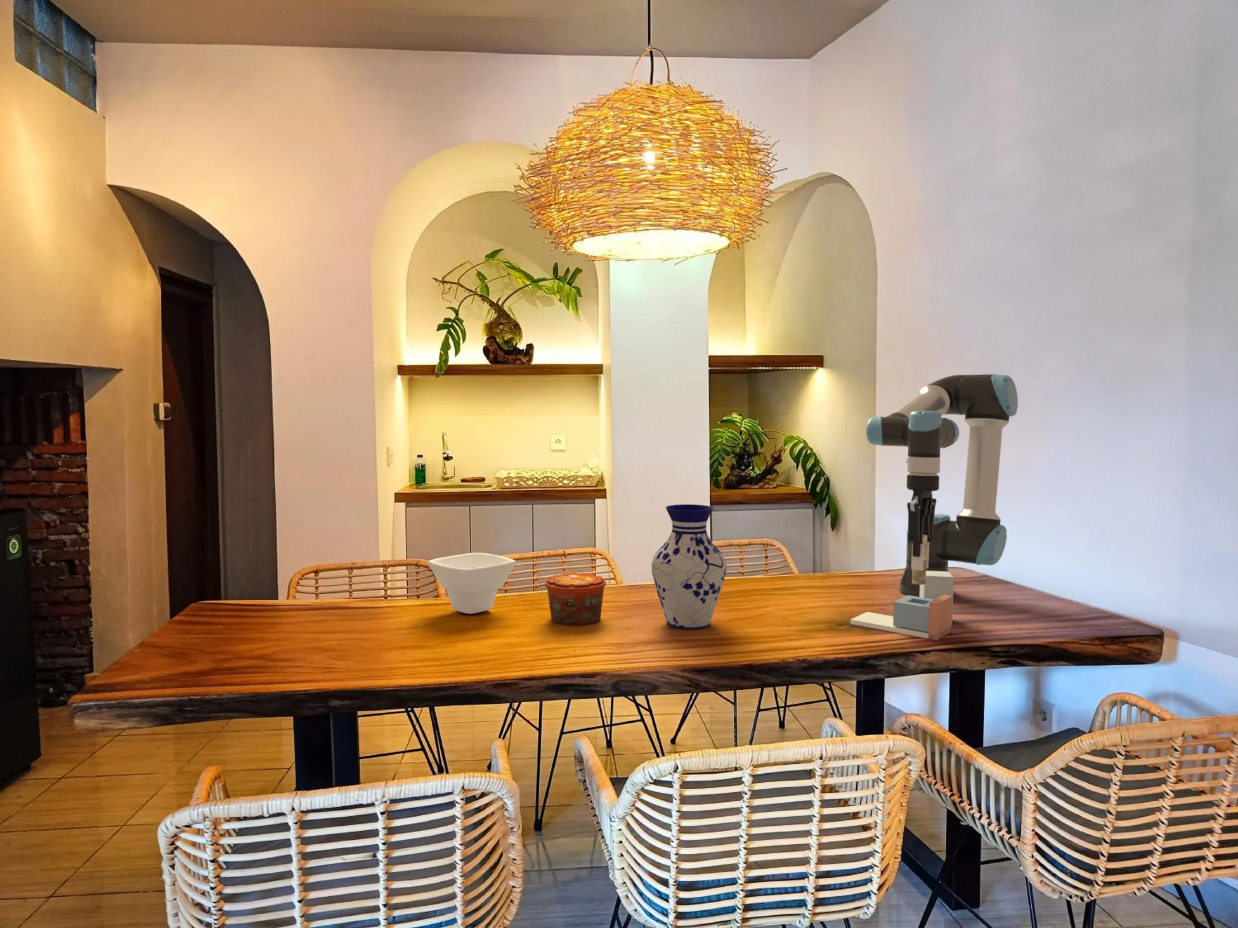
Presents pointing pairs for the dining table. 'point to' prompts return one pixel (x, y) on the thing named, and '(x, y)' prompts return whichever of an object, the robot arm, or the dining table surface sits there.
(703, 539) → the vase
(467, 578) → the bowl
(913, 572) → the dowel
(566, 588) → the food container
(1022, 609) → the dining table surface
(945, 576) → the supplement box
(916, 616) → the socket block
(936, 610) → the peg insertion fixture
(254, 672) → the dining table surface
